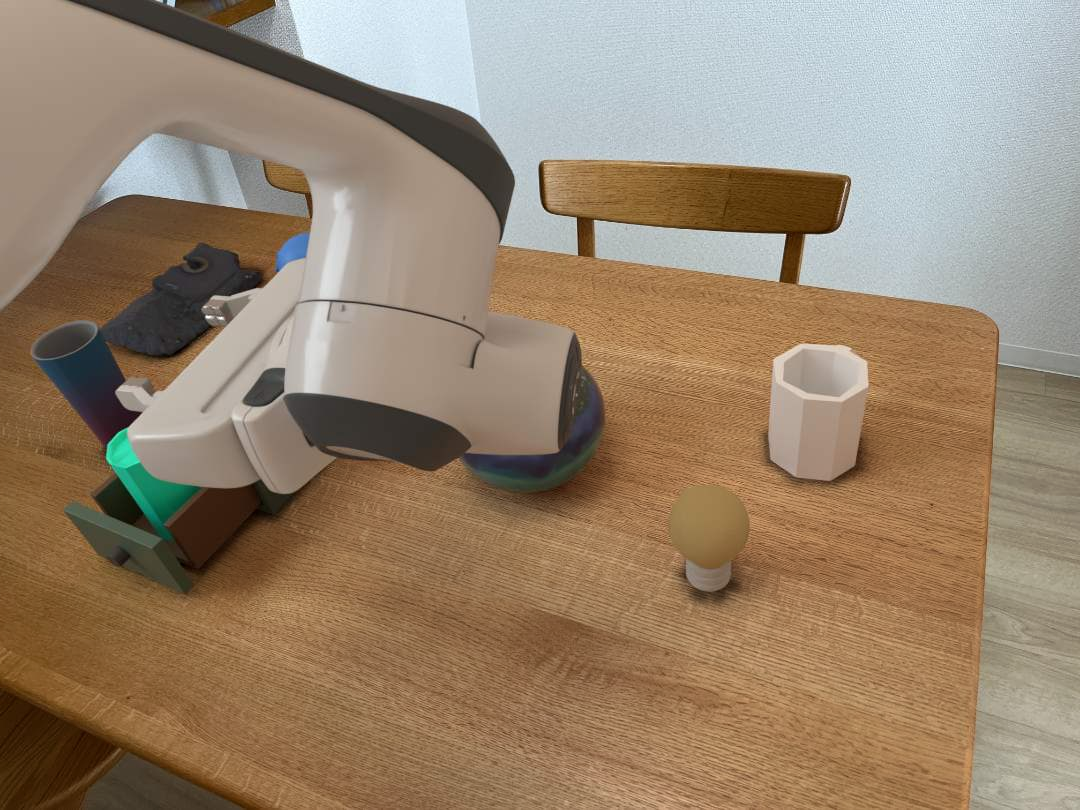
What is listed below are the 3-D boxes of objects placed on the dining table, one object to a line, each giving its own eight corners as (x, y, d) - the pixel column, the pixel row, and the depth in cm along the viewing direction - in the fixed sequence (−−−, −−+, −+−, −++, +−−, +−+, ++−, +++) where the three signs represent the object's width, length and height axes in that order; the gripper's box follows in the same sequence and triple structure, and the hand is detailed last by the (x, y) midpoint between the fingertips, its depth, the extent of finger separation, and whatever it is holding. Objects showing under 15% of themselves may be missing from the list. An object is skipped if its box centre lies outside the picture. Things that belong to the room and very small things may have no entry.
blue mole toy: (379, 261, 117) (363, 208, 112) (347, 308, 109) (328, 254, 103) (306, 260, 120) (286, 209, 115) (269, 307, 112) (246, 254, 106)
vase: (434, 500, 80) (401, 400, 71) (496, 400, 90) (474, 301, 81) (580, 532, 74) (564, 428, 66) (629, 421, 85) (620, 318, 76)
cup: (111, 428, 96) (43, 326, 86) (167, 418, 96) (106, 315, 86) (93, 468, 91) (19, 365, 81) (153, 458, 91) (86, 353, 81)
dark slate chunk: (86, 348, 110) (68, 320, 107) (194, 262, 125) (180, 235, 122) (169, 364, 104) (152, 335, 101) (272, 273, 119) (260, 244, 116)
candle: (170, 496, 83) (113, 409, 75) (225, 493, 82) (174, 405, 74) (146, 542, 78) (83, 455, 70) (203, 540, 77) (146, 451, 70)
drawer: (175, 605, 73) (141, 558, 69) (88, 564, 79) (51, 519, 74) (288, 485, 83) (264, 437, 79) (203, 456, 88) (177, 410, 84)
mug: (839, 493, 74) (852, 413, 67) (751, 461, 78) (754, 384, 72) (883, 414, 80) (899, 335, 74) (800, 388, 85) (807, 312, 78)
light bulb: (739, 616, 66) (743, 538, 59) (662, 599, 68) (657, 522, 61) (752, 555, 70) (757, 476, 63) (679, 541, 72) (677, 463, 66)
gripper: (397, 241, 57) (236, 233, 62) (235, 439, 43) (41, 410, 48) (417, 314, 62) (265, 301, 66) (275, 516, 47) (94, 483, 52)
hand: (170, 349), depth 57 cm, fingers open, 8 cm apart
